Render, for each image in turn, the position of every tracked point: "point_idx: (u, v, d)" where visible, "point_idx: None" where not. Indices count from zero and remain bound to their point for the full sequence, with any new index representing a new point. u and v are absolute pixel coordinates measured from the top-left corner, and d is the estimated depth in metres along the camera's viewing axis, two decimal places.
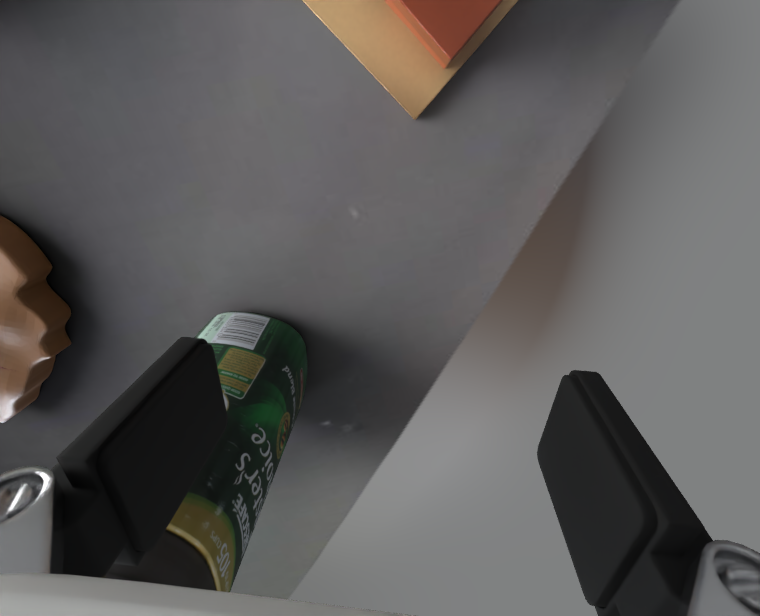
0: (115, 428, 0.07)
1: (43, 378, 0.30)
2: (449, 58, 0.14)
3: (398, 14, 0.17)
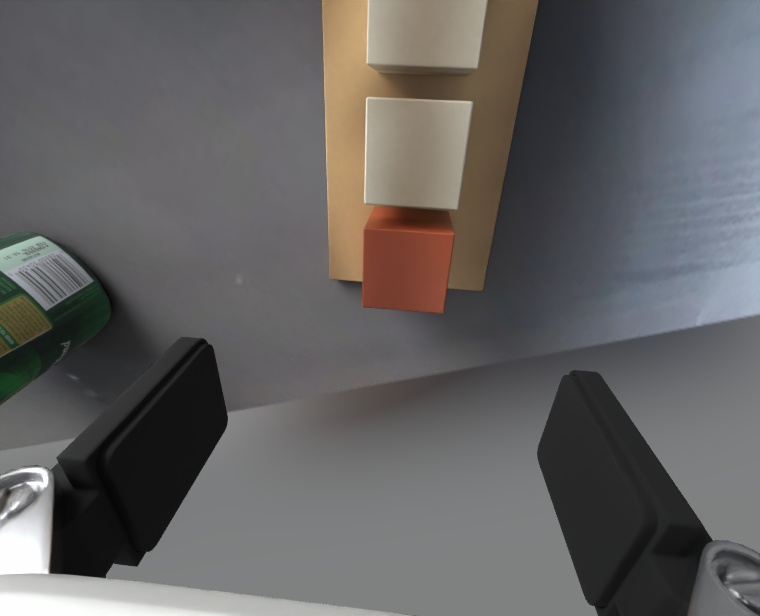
0: (116, 427, 0.07)
1: None
2: (362, 305, 0.18)
3: None
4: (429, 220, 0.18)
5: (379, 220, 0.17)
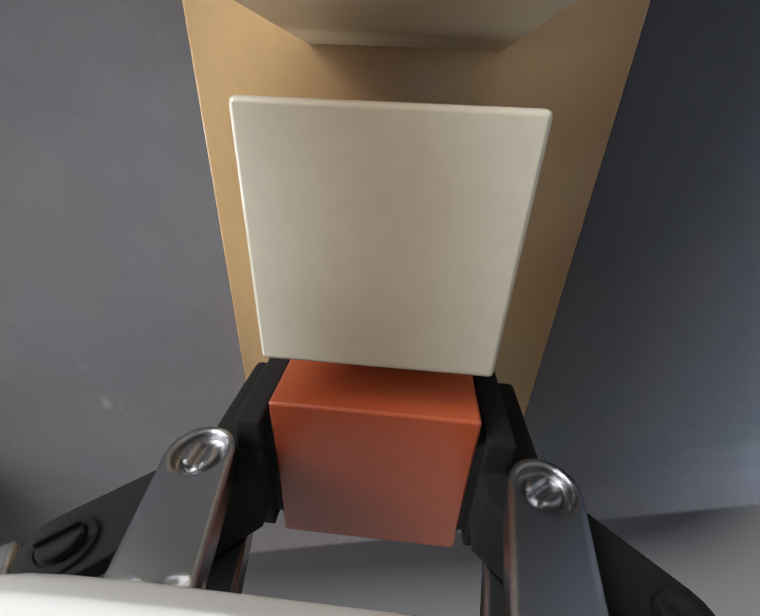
0: None
1: None
2: (285, 524, 0.09)
3: None
4: None
5: (314, 363, 0.08)
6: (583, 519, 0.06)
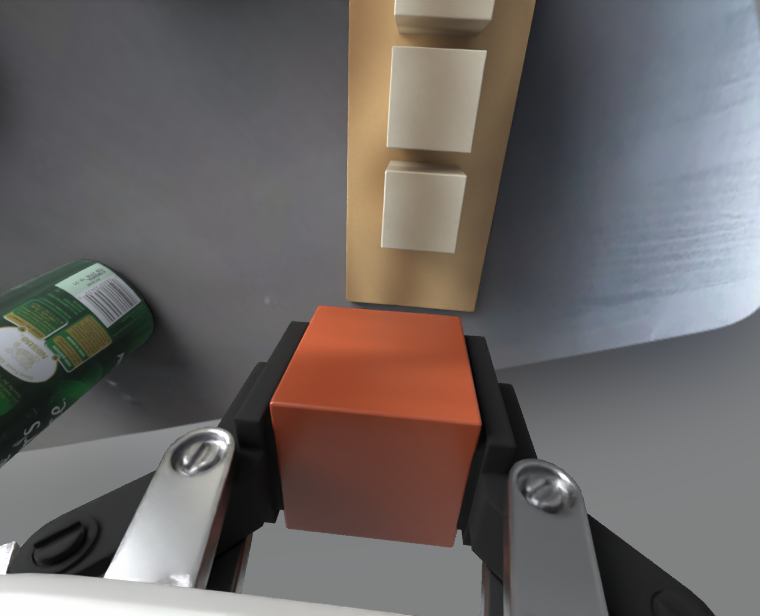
0: (272, 396, 0.08)
1: None
2: (286, 524, 0.09)
3: None
4: (422, 357, 0.08)
5: (314, 363, 0.08)
6: (583, 519, 0.06)
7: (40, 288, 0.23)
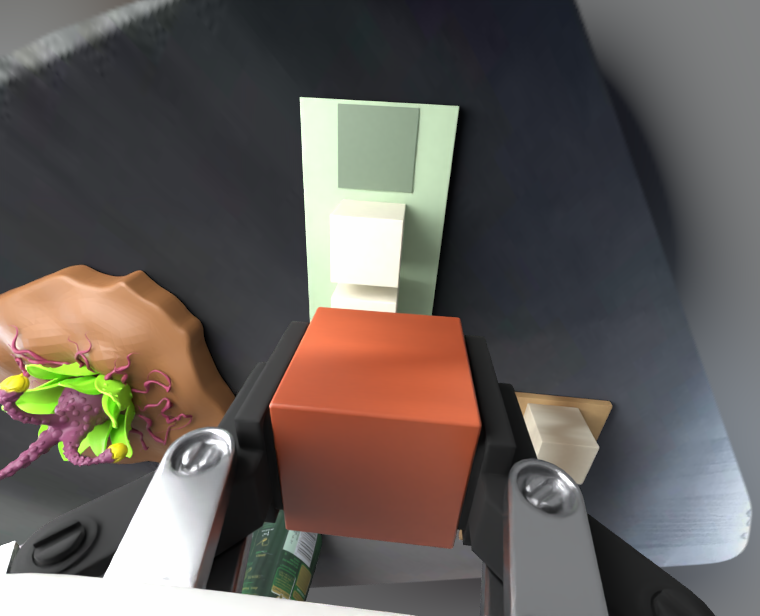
0: (272, 395, 0.08)
1: None
2: (286, 525, 0.09)
3: None
4: (422, 358, 0.08)
5: (314, 365, 0.08)
6: (583, 519, 0.06)
7: (277, 555, 0.36)
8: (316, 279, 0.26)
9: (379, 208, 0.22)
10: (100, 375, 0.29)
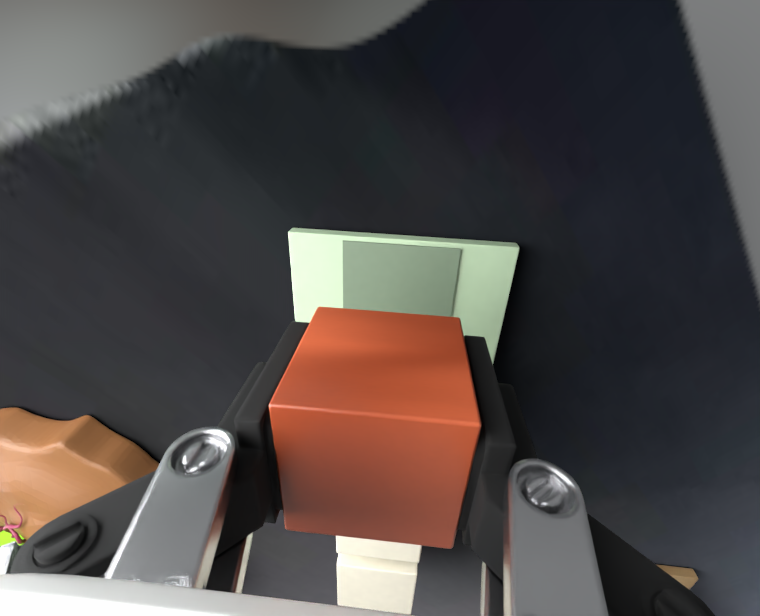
0: (272, 395, 0.08)
1: None
2: (285, 525, 0.09)
3: None
4: (422, 358, 0.08)
5: (314, 365, 0.08)
6: (583, 519, 0.06)
7: None
8: None
9: None
10: None
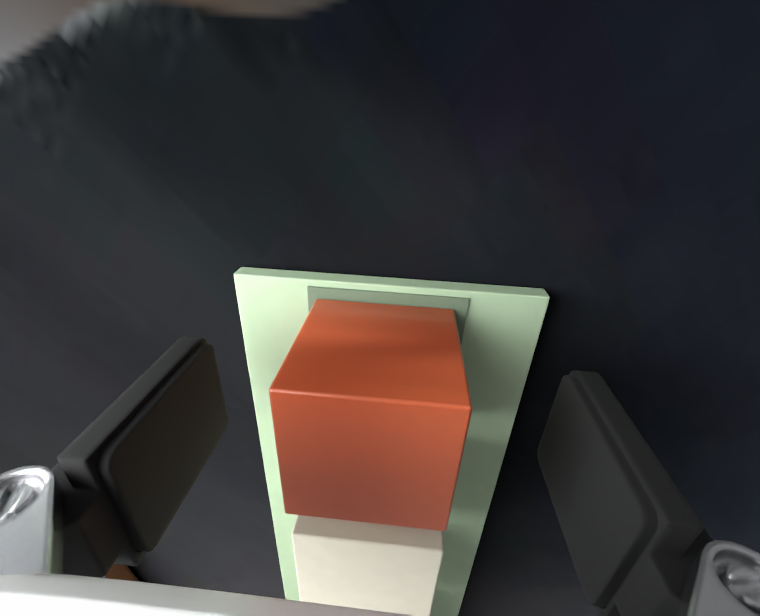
0: (115, 428, 0.07)
1: None
2: (285, 509, 0.09)
3: None
4: (416, 347, 0.09)
5: (312, 353, 0.08)
6: None
7: None
8: (285, 514, 0.16)
9: None
10: None
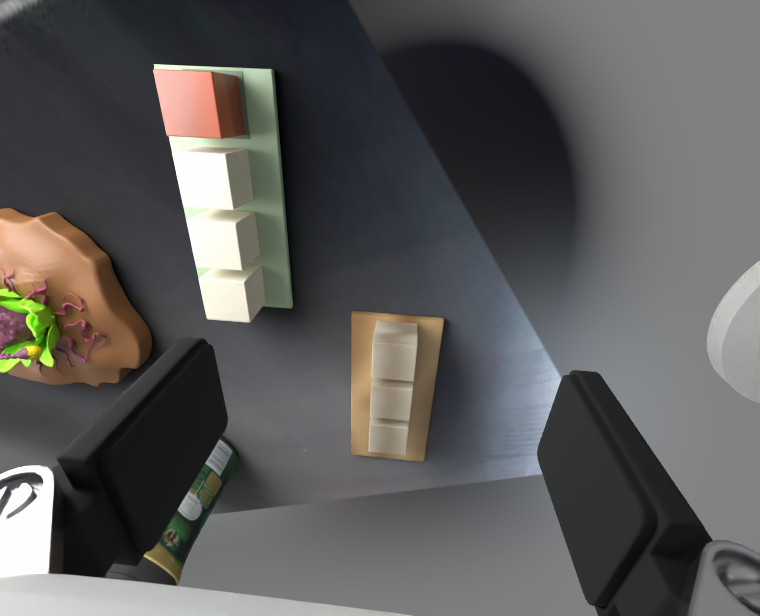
0: (116, 427, 0.07)
1: None
2: (167, 134, 0.26)
3: None
4: None
5: None
6: None
7: None
8: (191, 215, 0.33)
9: (219, 149, 0.29)
10: (25, 298, 0.35)
